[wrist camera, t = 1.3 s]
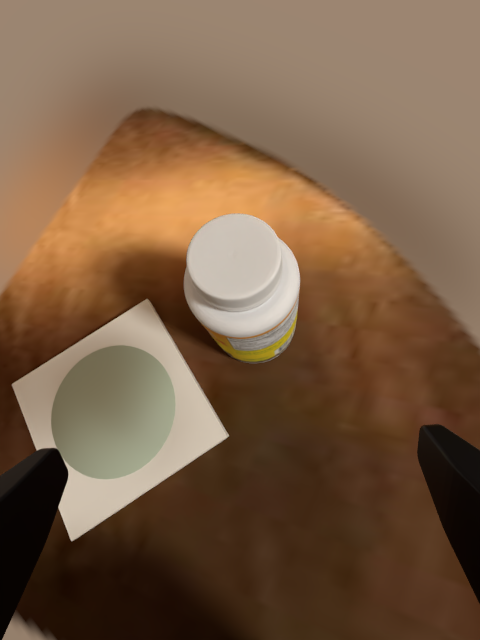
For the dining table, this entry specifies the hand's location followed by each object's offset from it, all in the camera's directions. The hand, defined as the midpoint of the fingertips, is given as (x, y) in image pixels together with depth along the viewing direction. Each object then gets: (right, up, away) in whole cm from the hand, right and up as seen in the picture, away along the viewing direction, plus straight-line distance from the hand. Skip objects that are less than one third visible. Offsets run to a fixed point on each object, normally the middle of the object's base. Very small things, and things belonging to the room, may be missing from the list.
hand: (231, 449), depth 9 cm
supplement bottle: (+1, +3, +15) cm, 16 cm away
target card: (-8, -3, +15) cm, 17 cm away
